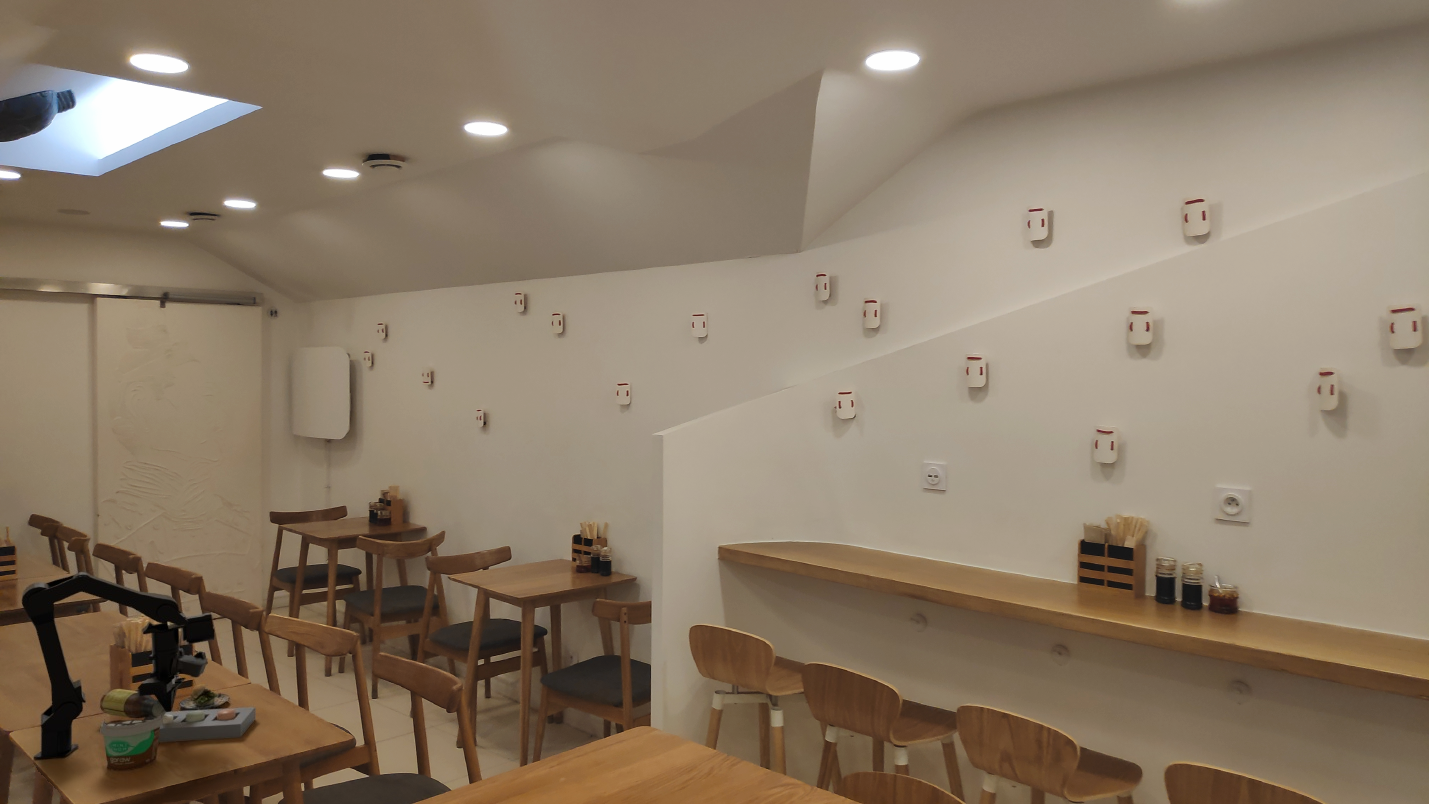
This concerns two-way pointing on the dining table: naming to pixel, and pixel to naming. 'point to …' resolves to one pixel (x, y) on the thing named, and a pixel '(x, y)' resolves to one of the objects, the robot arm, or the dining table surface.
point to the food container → (131, 743)
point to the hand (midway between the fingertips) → (169, 711)
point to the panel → (205, 725)
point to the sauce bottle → (130, 704)
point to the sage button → (195, 716)
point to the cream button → (167, 718)
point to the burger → (202, 699)
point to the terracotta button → (226, 714)
